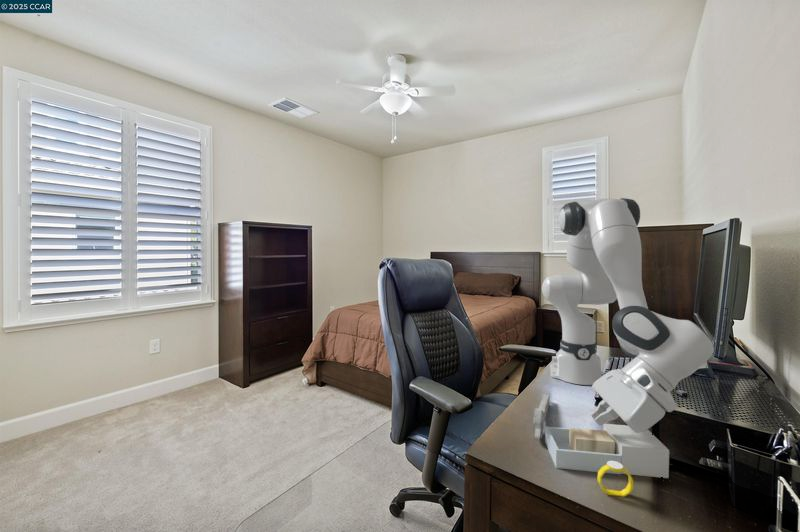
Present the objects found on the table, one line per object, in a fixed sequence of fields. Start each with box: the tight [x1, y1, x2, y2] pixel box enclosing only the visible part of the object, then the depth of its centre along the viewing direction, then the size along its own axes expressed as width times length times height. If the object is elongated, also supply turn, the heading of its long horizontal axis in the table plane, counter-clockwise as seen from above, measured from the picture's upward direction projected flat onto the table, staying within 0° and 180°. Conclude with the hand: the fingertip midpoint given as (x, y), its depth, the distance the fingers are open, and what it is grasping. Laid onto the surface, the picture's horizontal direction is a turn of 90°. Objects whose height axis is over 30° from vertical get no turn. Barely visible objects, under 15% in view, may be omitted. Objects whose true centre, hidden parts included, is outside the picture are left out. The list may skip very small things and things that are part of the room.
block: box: [568, 427, 615, 454], centre depth 81 cm, size 5×5×8 cm
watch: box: [596, 461, 635, 498], centre depth 69 cm, size 6×3×6 cm, turn 78°
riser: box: [602, 423, 670, 479], centre depth 79 cm, size 10×9×6 cm
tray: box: [544, 426, 622, 475], centre depth 81 cm, size 11×13×4 cm
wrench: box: [532, 394, 551, 440], centre depth 98 cm, size 8×2×30 cm
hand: (595, 420), depth 80 cm, fingers closed
